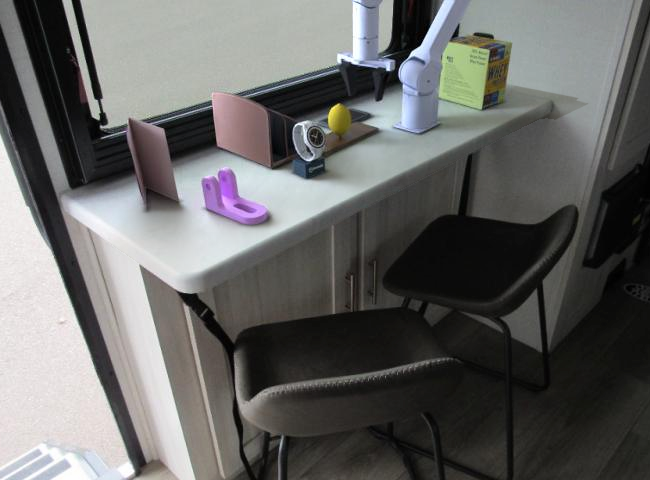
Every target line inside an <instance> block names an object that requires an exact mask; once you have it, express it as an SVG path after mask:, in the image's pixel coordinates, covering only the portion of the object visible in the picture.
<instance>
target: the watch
mask: <svg viewBox="0 0 650 480" xmlns="http://www.w3.org/2000/svg"><path fill="white" fill-rule="evenodd" d="M302 131H303V135H302ZM326 134H327V133H326V132H325V131H324V129H323V128H322V127H321V126H320V125H318V124H316V123H315V122H312V121H311V120H304V121H301V122H298V124H296V125H295V126H294V128H293V142H294V145H295V148H296V150H297V153H298V154H299V155H300V157H297V158H295V159H293V160H292V173H293V174H294V175H297V176H298V177H301V178H303V179H305V180H308V179H311V178H312V177H314V176H317V175H320V174H322V173H324V172H326V158H325V156H323V155H322V153H323V150H324V148H325V142H326ZM305 143H306V145H307V146H308V147H309V148H310V150H311V151H310V153H309V152H308V150H307V148H306V146H305Z"/></svg>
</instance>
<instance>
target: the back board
mask: <svg viewBox="0 0 650 480" xmlns="http://www.w3.org/2000/svg"><path fill="white" fill-rule="evenodd" d="M379 130H380V128H379V127H377V126H374V125H370V124H367V123H363V122H361V121H359V122H354V123H351V126H350V129H349V130H348V132H347V133H345V134H343V135H342V136H341V137H339V136H338V135H337V134H334V133H333V132H332V131H331V132H328V133H325V134H326V142H325V148H324V150H323V153H322V155H321V156H322V157H327V156H328V155H331V154H334V153H335V152H338V151H339V150H342V149H344V148H346V147H348V146H351V145H353V144H355V143H357V142H359V141H361V140H363V139H366V138H368V137H370V136H372V135H374V134H376V133H378V132H380V131H379ZM304 143H305V142H304ZM305 146H306V148H307V152H308V151H309V152H311V150H310V148H309V147H308V146H307V145H306V143H305Z"/></svg>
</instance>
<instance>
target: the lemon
mask: <svg viewBox="0 0 650 480" xmlns="http://www.w3.org/2000/svg"><path fill="white" fill-rule="evenodd" d="M348 109H349V108H348V107H347V106H346V105H343V104H342V103H337V104H335V105H334V106H333V107H331V109H330V110H329V113H328V116H327V117H328V124H329V127H330V128H329V129H330V131H331V132H333V133H334V134H337V135H338V136H339V137H341V136H342V135H343V134H345V133H347V132H348V130H349V129H350V126H351V115H350V111H349V110H348Z"/></svg>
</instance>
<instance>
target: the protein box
mask: <svg viewBox="0 0 650 480" xmlns="http://www.w3.org/2000/svg"><path fill="white" fill-rule="evenodd" d="M512 48H513V42H511V41H506V40H499V39H495V38H489V37H482V36H477V35H471V34H465V35H461V36H457V37H453V38H452V37H451V39H450V41H449V43H448V44H447V46H446V48H445V50H444V52H443V54H442V56H441V60H442V64H443V69H442V71H441V73H440V76H439V89H438V96H439V99H441V100H446V101H448V102H452V103H456V104H459V105H463V106H466V107H470V108H473V109H477V110H481V111H482V110H484V109H488V108H489V107H490V108H491V107H492V106H495V105H498V104H501V103H503V102H504V101H505V94H506V88H507V81H508V75H509V67H510V61H511V54H512Z"/></svg>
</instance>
